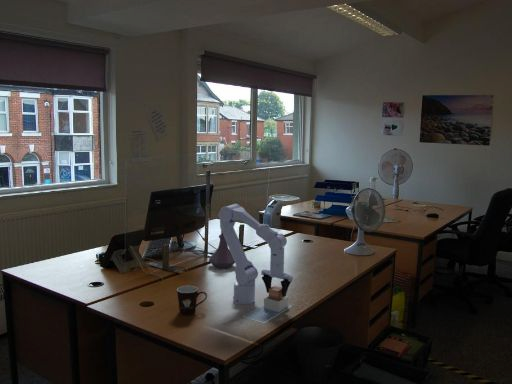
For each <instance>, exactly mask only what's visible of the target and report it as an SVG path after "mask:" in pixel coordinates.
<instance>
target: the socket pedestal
mask: <svg viewBox="0 0 512 384" xmlns="http://www.w3.org/2000/svg"><path fill="white" fill-rule="evenodd" d="M263 305H264V308H265V309H269V310H272V311H276V312H280V311H282V310H283V309H285V308H287V307H288V305H289V296H288V295H286V296H284V297H283V299H282V300H280V301H276V300H272V299H269V295H267V296H265V297H263Z"/></svg>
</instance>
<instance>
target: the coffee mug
mask: <svg viewBox="0 0 512 384" xmlns="http://www.w3.org/2000/svg"><path fill="white" fill-rule="evenodd" d="M198 290H199V288H198V287H197V286H196V285H195V286H193V285H182V286H179V287H177V289H176V293H177V302H178V309H179V314H181V315H182V316H192V315H194V314H195V313H196V309H197V307H198V306H199V305H201V304H202V303H203V302H205V301H206V300H207V297H208V293H206V292H205V291H200V292H198ZM200 294H204V295H205V298H204V299H202V301H200V302H197V300H198V297H199V295H200Z"/></svg>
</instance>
